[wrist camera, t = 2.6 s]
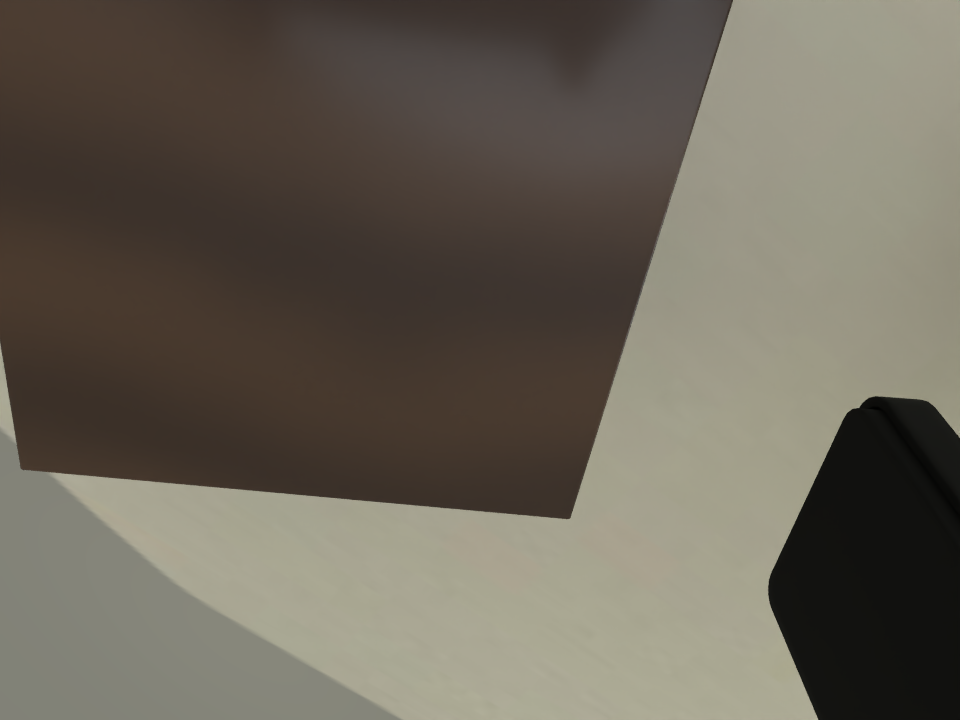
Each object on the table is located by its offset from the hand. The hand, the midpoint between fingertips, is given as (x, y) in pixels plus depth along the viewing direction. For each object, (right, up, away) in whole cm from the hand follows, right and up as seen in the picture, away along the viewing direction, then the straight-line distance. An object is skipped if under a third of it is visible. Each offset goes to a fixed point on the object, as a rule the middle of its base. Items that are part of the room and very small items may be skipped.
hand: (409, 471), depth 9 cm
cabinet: (-3, +9, +17) cm, 19 cm away
